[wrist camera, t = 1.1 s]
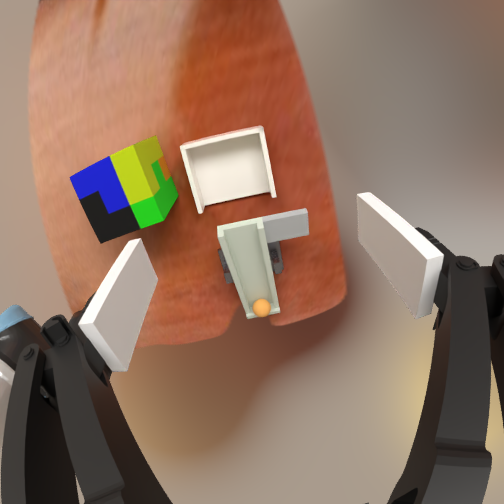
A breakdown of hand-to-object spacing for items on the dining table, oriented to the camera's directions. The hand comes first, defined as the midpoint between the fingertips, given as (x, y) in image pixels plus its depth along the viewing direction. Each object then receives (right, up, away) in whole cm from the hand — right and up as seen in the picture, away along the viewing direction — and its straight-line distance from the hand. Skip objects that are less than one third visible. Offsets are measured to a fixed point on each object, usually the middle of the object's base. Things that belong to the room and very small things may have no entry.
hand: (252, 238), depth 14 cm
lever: (+3, -3, +30) cm, 30 cm away
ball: (+2, -10, +34) cm, 35 cm away
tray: (-3, +12, +26) cm, 28 cm away
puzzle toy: (-17, +11, +26) cm, 33 cm away
